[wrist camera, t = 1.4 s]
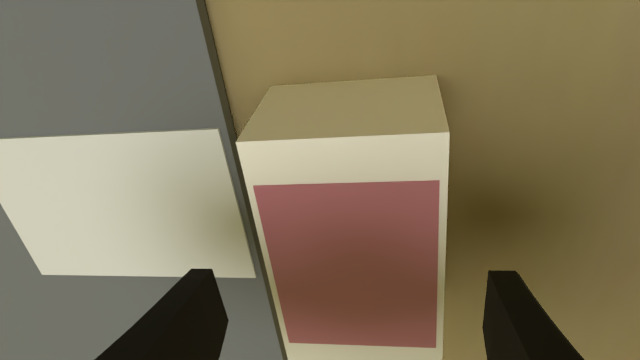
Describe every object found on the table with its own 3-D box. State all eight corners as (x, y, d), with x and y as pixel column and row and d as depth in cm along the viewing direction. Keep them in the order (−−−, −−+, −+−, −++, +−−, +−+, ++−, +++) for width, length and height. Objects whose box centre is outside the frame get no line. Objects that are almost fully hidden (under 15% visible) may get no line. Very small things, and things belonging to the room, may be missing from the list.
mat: (162, -180, 11) (149, -184, 10) (294, 384, 22) (291, 398, 22) (-376, -85, 14) (-410, -84, 13) (-19, 367, 26) (-29, 378, 25)
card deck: (435, 72, 13) (450, 133, 10) (432, 282, 18) (441, 373, 14) (272, 83, 14) (235, 142, 11) (308, 281, 19) (289, 367, 15)
